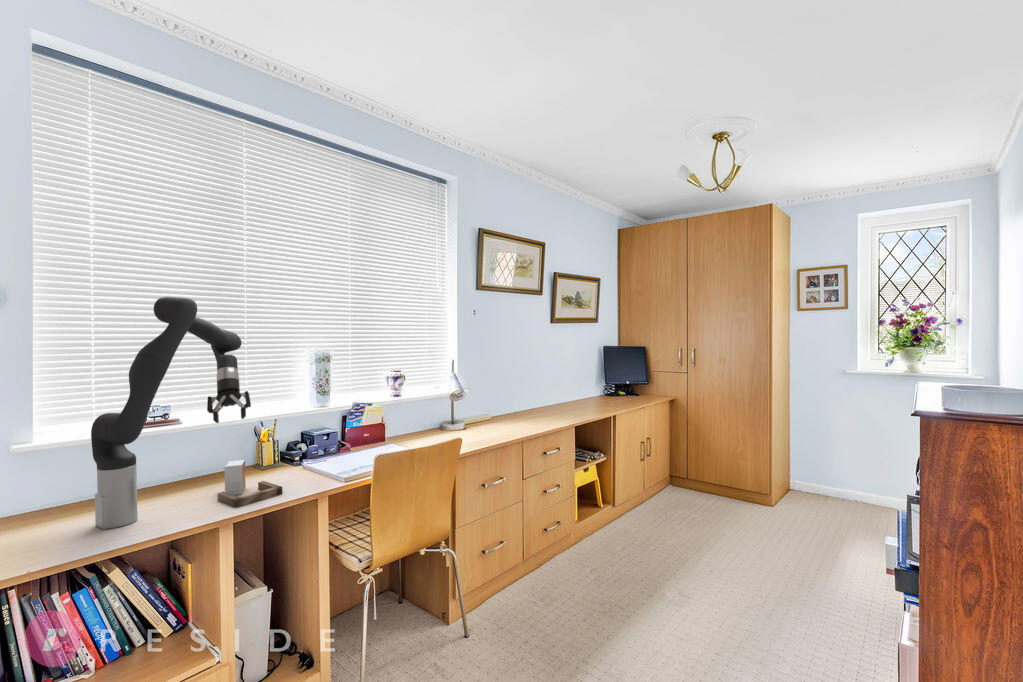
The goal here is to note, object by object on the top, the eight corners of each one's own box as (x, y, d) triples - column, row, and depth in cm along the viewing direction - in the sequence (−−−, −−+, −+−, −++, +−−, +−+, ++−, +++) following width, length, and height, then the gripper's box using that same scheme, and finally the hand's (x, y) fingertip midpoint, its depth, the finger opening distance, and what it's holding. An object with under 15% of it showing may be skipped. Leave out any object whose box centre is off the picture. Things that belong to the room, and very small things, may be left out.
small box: (242, 494, 171) (242, 464, 170) (224, 496, 169) (224, 466, 168) (246, 487, 178) (245, 459, 178) (228, 489, 176) (228, 460, 176)
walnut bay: (236, 507, 158) (235, 500, 158) (217, 500, 164) (217, 493, 164) (282, 493, 171) (282, 486, 171) (263, 487, 178) (263, 480, 178)
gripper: (204, 380, 182) (205, 420, 176) (246, 374, 187) (249, 413, 181) (209, 387, 188) (211, 426, 182) (250, 381, 194) (253, 419, 187)
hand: (230, 420), depth 182 cm, fingers open, 8 cm apart
